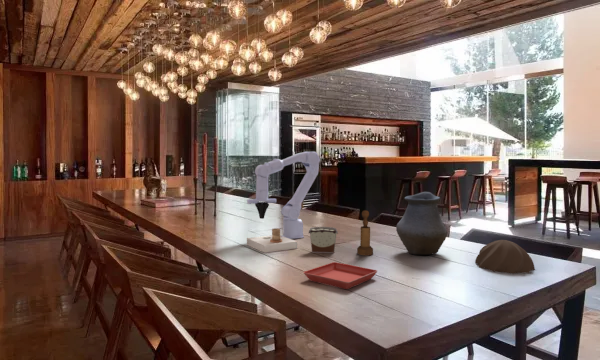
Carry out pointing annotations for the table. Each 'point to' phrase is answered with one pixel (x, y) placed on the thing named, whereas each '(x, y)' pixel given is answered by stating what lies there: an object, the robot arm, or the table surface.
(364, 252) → the brown wooden tall figure
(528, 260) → the decorative dome
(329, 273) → the plant saucer
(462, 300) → the table surface
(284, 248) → the hole board
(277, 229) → the oak peg
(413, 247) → the grey ceramic jar
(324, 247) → the food container
